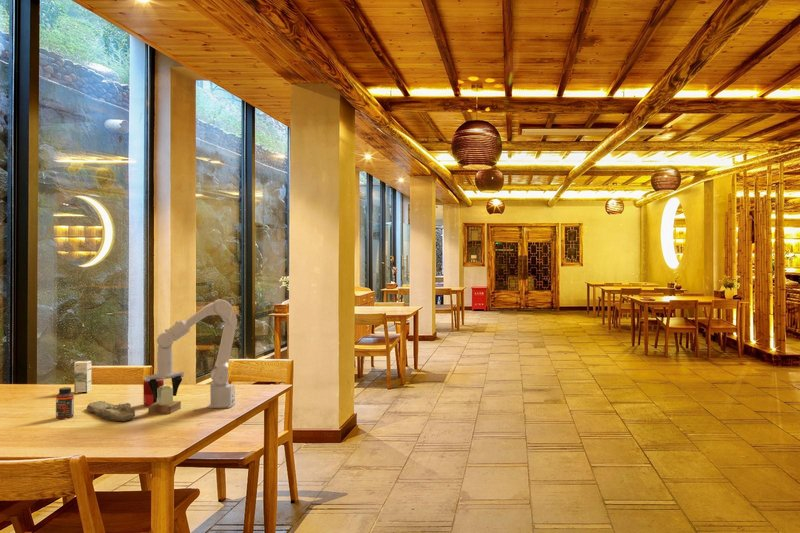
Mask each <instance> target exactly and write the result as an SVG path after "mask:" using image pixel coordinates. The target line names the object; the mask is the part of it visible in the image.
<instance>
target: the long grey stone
mask: <svg viewBox="0 0 800 533" xmlns="http://www.w3.org/2000/svg"><path fill="white" fill-rule="evenodd" d="M131 406H132V404H131V403H130V402H125V403H118V404H112V403H109V402H107V401H105V400H103V401H102V400H98V401H97V400H96V401H93V402H90V403H89V404H87V405H86V410H88V411H89V412H90V413H92V414H93V413H94V414H95V415H96V416H97V417H102V418H103V419H105V420H110V421H111V422H114V421H115V422H117V421H118V422H125V421H130V420H133V419H134V417H135V416H136V411H135V409H134V408H133V407H131Z"/></svg>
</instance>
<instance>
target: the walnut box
mask: <svg viewBox="0 0 800 533" xmlns="http://www.w3.org/2000/svg"><path fill="white" fill-rule="evenodd" d="M147 407H148V410H147V411H148V412H147V413H148V414H149V415H152V414H153V415H154V414H155V415H159V414H160V415H162V414H163V415H171V413H172V414H174V413H176V412H177V411H179V410H181V408H182V401H181V400H180V401H178V400H177V401H176V400H173V404H168V405H159V404H157V402H156V403H154V404H152V405H150V406H147Z"/></svg>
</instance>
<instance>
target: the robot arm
mask: <svg viewBox="0 0 800 533" xmlns="http://www.w3.org/2000/svg"><path fill="white" fill-rule="evenodd" d="M215 315H217V316H219V317H220V318H221V319H222V321H223V322H224V325H223V326H224V327H223V329H222V335H221V339H220V344H219V348H218V353H217V358H216V360H215V363H214V366H213V368H212V369H211V371H210V374H209V376H210V378H211V380H212V381H211V383H210V395H209V396H210V401H209V402H210V403H209V404H208V405H207V406H206V408H207V409H208V408H209V409H211V408H212V409H217V408H218V409H219V408H220V409H224V408H225V409H226V408H227V409H229V408H232V407H233V406H234V405H236V394H235V393H236V389H235V387H236V386H235V384H230V383H229V378H230V377H229V362H230V356H231V354H232V353H231V352H232V348H233V344H234V338H235V334H236V329H237V323H238V317H237V316H236V312H235V311H234V306H232V304H231V303H230V302H229V301H227V300H225V299H222V298H221V299H220V298H218V299H216V300H213V302H210V303H208V304H207V305H205V306H204V307H202V308H201V309H200V310H198V311H197V312H195V313H194V314H193V315H191V316H190V317H189V318H188V319H186V320H179V321H178V320H176V321H175V322H174V324H173V325H172V326H171V327H169V328H168V329H167V328H165V329H164V332H161V333H160V334H159V335H157V338H156V342H157V344H158V345H157V352H156V356H157V357H156V360H157V361H156V364H157V365H156V367H157V368H156V373H155V374H150V375H145V378H146V381H147V382H148V384H149V386H150V388H151V390H152V394H153V398H154V399H157V387H158V382H157V381H156V380H159V379H164V380H165V379H166V380H167V379H171V384H172V385H171V386H172V387H171V388H172V389H173V397H176V396H177V393H178V389H179V387H180V384H181V383H182V381H183V378H184V376H185V375H184V374H185V373H184V372H183V371H174V372H173V368H174V367H173V361H174V360H173V358H174V357H173V354H174V353H173V344H174V342H177V341H178V340H180V339H181V338H183V337H184V336H186V334H188V333H189V332H190V330H191V327H192V326H194V325H195V324H197V323H198V322H200V321H201V320H203V319H204V318H206V317H208V316H215ZM161 377H163V378H161Z"/></svg>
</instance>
